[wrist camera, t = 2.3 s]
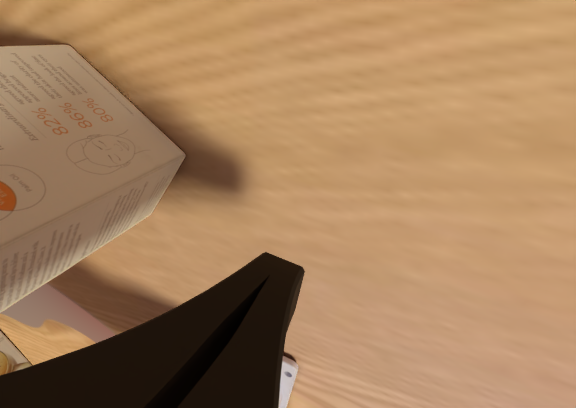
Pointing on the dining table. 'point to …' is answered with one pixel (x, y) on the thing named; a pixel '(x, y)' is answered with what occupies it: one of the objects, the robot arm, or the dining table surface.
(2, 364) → the coffee box
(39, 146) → the small box
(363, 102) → the dining table surface
